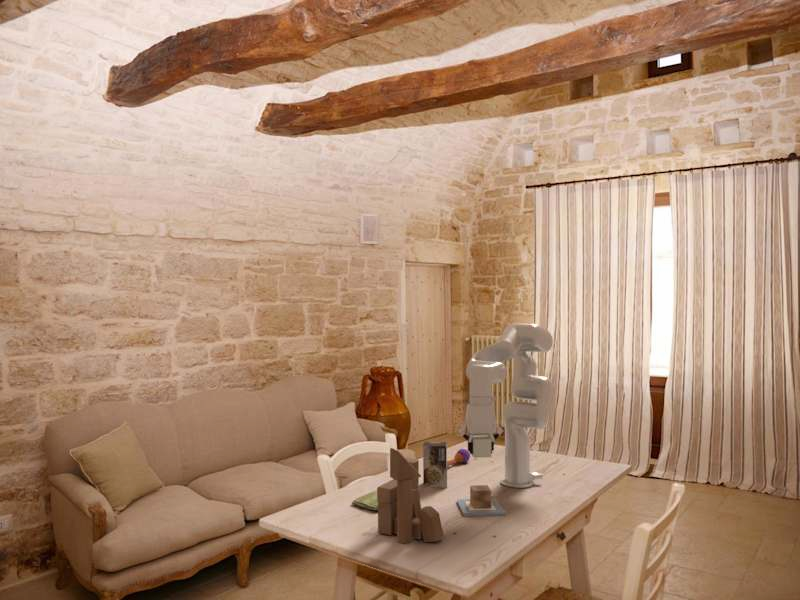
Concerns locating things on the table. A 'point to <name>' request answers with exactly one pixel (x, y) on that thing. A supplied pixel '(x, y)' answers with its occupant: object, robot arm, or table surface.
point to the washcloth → (367, 501)
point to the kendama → (460, 457)
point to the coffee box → (435, 464)
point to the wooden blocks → (406, 504)
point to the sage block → (481, 446)
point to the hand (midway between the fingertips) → (480, 452)
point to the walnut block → (480, 496)
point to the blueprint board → (470, 511)
